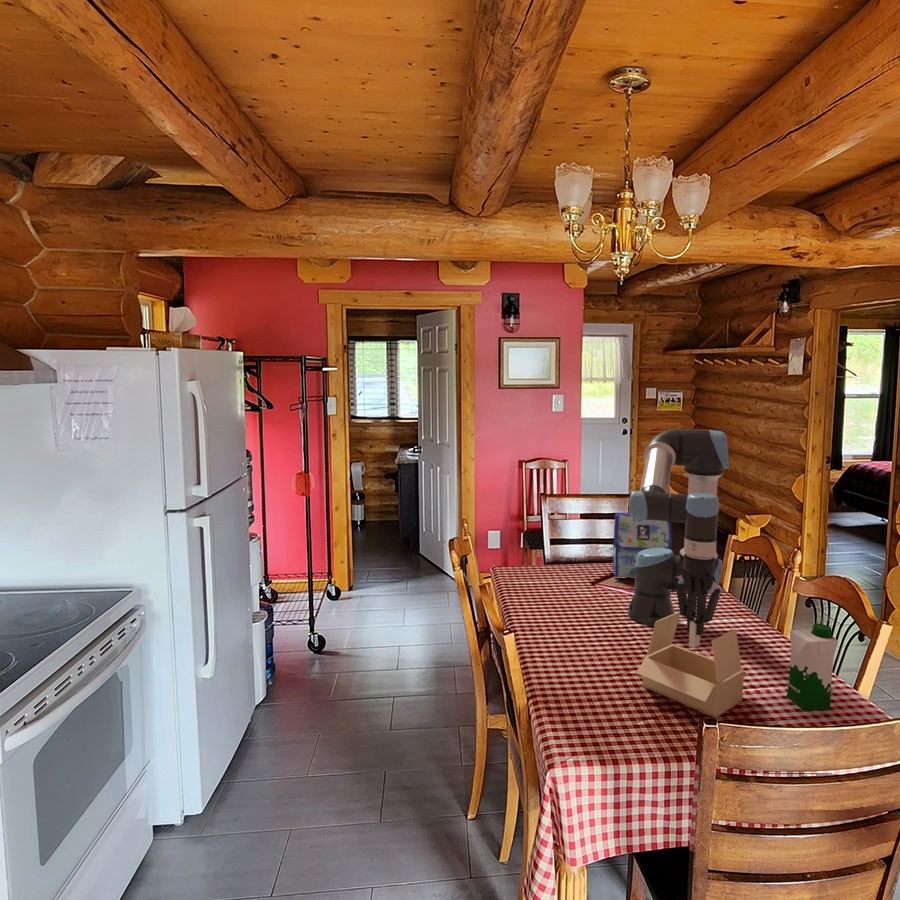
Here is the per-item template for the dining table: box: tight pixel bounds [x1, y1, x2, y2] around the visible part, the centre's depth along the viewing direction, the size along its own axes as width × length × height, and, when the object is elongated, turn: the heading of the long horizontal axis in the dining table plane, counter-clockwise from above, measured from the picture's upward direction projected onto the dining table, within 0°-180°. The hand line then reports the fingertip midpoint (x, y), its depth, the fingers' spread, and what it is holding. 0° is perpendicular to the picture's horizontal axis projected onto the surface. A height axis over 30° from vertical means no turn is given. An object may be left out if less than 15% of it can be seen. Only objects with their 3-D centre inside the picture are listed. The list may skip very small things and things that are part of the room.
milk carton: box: [786, 623, 839, 712], centre depth 162 cm, size 9×9×20 cm
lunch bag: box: [612, 512, 673, 578], centre depth 263 cm, size 22×17×26 cm
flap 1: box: [646, 611, 681, 656], centre depth 172 cm, size 1×11×10 cm, turn 128°
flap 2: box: [711, 628, 742, 683], centre depth 159 cm, size 1×11×10 cm, turn 130°
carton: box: [635, 644, 750, 719], centre depth 167 cm, size 20×22×8 cm
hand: (694, 645), depth 166 cm, fingers closed
